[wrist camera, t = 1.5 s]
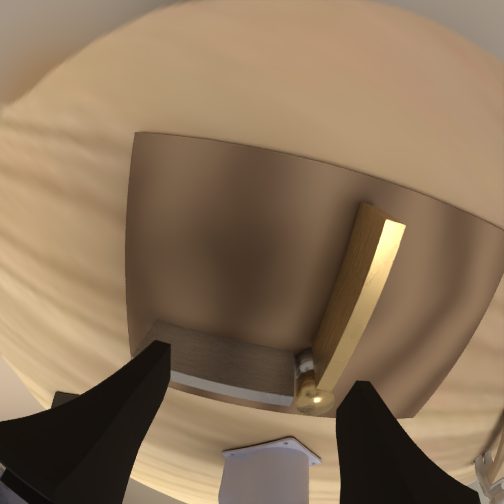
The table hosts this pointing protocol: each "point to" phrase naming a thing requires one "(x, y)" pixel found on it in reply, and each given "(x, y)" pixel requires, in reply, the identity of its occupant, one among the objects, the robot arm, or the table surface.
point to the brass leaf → (349, 305)
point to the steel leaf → (230, 364)
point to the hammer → (492, 474)
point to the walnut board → (299, 262)
